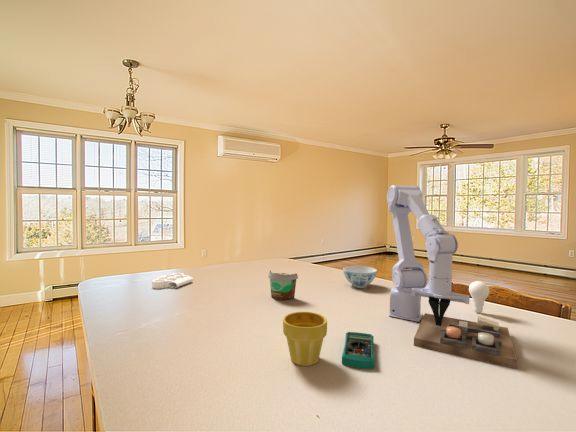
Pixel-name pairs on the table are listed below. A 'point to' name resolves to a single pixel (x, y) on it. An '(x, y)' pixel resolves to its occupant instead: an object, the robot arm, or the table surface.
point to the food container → (282, 285)
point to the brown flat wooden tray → (466, 341)
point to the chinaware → (359, 275)
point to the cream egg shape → (485, 338)
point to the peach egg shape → (453, 332)
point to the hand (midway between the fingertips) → (438, 324)
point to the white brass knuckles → (171, 281)
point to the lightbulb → (478, 294)
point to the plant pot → (304, 336)
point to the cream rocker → (487, 323)
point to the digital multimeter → (358, 350)
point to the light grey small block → (463, 327)
